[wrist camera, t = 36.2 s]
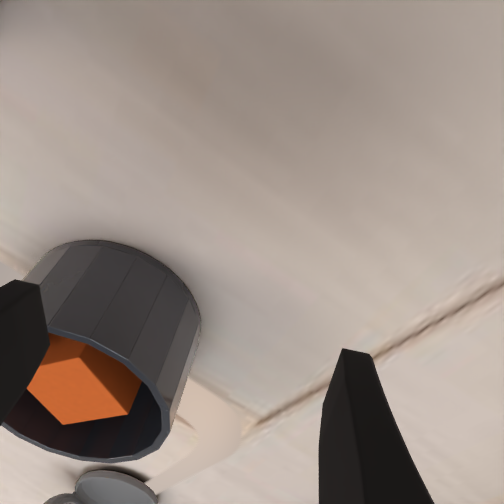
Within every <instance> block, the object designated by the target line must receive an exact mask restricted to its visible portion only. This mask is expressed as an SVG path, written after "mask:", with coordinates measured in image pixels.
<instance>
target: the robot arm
mask: <svg viewBox="0 0 504 504" xmlns="http://www.w3.org/2000/svg"><path fill="white" fill-rule="evenodd" d="M49 346H50V340H49V335H48V329H47V324H46V319H45V313H44V308H43V303H42V297H41V292H40V286H39V284H34V283H29V282H25V281H20V280H13V281H11V282H9V283H7V284H5V285H4V286H2V287H0V426H1V424H2V423H3V422H4V420H5V419H6V417H7V416H8V414H9V413H10V412H11V410H12V409H13V407H14V406H15V404H16V403H17V402H18V400H19V399H20V397H21V396H22V394H23V393H24V391H25V390H26V388H27V387H28V385H29V384H30V382H31V381H32V379H33V377H34V375H35V373H36V371H37V370H38V368H39V366H40V364H41V362H42V360H43V358H44V356H45V354H46V352H47V350H48V348H49ZM319 504H434V502H433V500H432V498H431V496H430V494H429V492H428V490H427V488H426V486H425V484H424V482H423V480H422V478H421V476H420V474H419V472H418V470H417V468H416V466H415V464H414V462H413V460H412V458H411V456H410V454H409V451H408V449H407V447H406V445H405V442H404V440H403V438H402V435H401V433H400V431H399V429H398V426H397V424H396V422H395V419H394V417H393V414H392V412H391V409H390V407H389V404H388V402H387V399H386V397H385V394H384V391H383V388H382V386H381V383H380V380H379V377H378V374H377V371H376V368H375V365H374V362H373V359H372V357H371V356H370V354H367V353H363V352H358V351H353V350H348V349H343V348H342V350H341V353H340V356H339V359H338V362H337V365H336V368H335V371H334V374H333V376H332V379H331V382H330V385H329V388H328V391H327V394H326V397H325V400H324V402H323V408H322V418H321V427H320V438H319Z"/></svg>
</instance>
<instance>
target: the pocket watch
mask: <svg viewBox="0 0 504 504" xmlns="http://www.w3.org/2000/svg"><path fill="white" fill-rule="evenodd" d="M44 504H158V500H157V497H156V495H155V493H154V492H153V491H152V490H151V489H150V488H149V487H148V486H147V485H145V484H144V483H143V482H141V481H139V480H138V479H136V478H134V477H131V476H129V475H126V474H123V473H119V472H115V471H107V470H97V471H89V472H87V473H86V474H84V475H82V476H81V477H80V478H79V480H78V482H77V483H76V486H75V492H73V494H59V495H57V496H54V497H52V498H50V499H49V500H47V501H46V502H45V503H44Z"/></svg>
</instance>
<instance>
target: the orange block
mask: <svg viewBox="0 0 504 504" xmlns="http://www.w3.org/2000/svg"><path fill="white" fill-rule="evenodd" d="M48 335H49V340H50V346H49V348H48V350H47V352H46V354H45V356H44V358H43V360H42V362H41V364H40V366H39V368H38V370H37V371H36V373H35V375H34V377H33V379H32V381H31V382H30V384H29V385H28V387H27V389H28V390H29V391H30V392H31V393H32V394H33V395H34V396H35V397H36V398H37V399H38V400H39V401H40V402H41V403H42V404H43V405H44V406H45V407H46V408H47V409H48V410H49V411H50V412H51V413H52V414H53V415H54V416H55V417H56V418H57V419H58V420H59V421H60V422H61V423H62V424H63V425H66V424H72V423H78V422H84V421H90V420H96V419H102V418H109V417H115V416H121V415H127V414H129V411H130V409H131V407H132V404H133V402H134V399H135V397H136V394H137V392H138V390H139V387H140V385H141V382H142V381H141V380H140V379H139V378H138V377H137V376H136V375H135V374H134V373H133V372H132V371H130V370H129V369H128V368H127V367H126V366H125V365H124V364H123V363H121V362H119V361H118V360H116V359H114V358H112V357H110V356H108V355H107V354H105V353H103V352H101V351H99V350H98V349H96V348H94V347H92V346H90V345H88V344H86V343H82V342H79V341H75V340H72V339H69V338H65V337H62V336H58V335H55V334H52V333H48Z"/></svg>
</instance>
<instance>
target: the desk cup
mask: <svg viewBox="0 0 504 504" xmlns="http://www.w3.org/2000/svg"><path fill="white" fill-rule="evenodd" d="M22 281H25V282H29V283H34V284H39V286H40V292H41V297H42V303H43V308H44V313H45V319H46V324H47V329H48V333H52V334H55V335H58V336H62V337H65V338H69V339H72V340H75V341H79V342H82V343H86V344H88V345H90V346H92V347H94V348H96V349H98V350H99V351H101V352H103V353H105V354H107V355H108V356H110V357H112V358H114V359H116V360H118V361H119V362H121V363H123V364H124V365H125V366H126V367H127V368H128V369H129V370H130V371H132V372H133V373H134V374H135V375H136V376H137V377H138V378H139V379H140V380H141V381H142V382H141V385H140V387H139V390H138V392H137V394H136V397H135V399H134V402H133V404H132V407H131V409H130V411H129V414H127V415H121V416H115V417H109V418H102V419H96V420H90V421H84V422H78V423H72V424H66V425H63V424H62V423H61V422H60V421H59V420H58V419H57V418H56V417H55V416H54V415H53V414H52V413H51V412H50V411H49V410H48V409H47V408H46V407H45V406H44V405H43V404H42V403H41V402H40V401H39V400H38V399H37V398H36V397H35V396H34V395H33V394H32V393H31V392H30V391H29V390H28V389H27V388H26V390H25V391H24V393H23V394H22V396H21V397H20V399H19V400H18V402H17V403H16V404H15V406H14V407H13V409H12V410H11V412H10V413H9V414H8V416H7V417H6V419H5V420H4V422H3V423H2V424H1V426H3V427H4V428H6V429H7V430H8V431H10V432H11V433H13V434H14V435H15V436H17V437H19V438H21V439H23V440H25V441H27V442H29V443H32V444H34V445H36V446H38V447H40V448H42V449H44V450H46V451H49V452H52V453H56V454H59V455H63V456H66V457H70V458H73V459H77V460H81V461H91V462H102V463H117V462H125V461H132V460H138V459H140V458H142V457H144V456H146V455H148V454H150V453H152V452H154V451H156V450H158V449H159V448H160V447H161V445H162V444H163V442H164V441H165V439H166V438H167V436H168V435H169V433H170V431H171V428H172V425H173V422H174V419H175V415H176V412H177V409H178V406H179V403H180V400H181V396H182V394H183V390H184V387H185V384H186V381H187V378H188V375H189V372H190V369H191V366H192V363H193V359H194V356H195V353H196V350H197V347H198V344H199V336H200V331H201V320H200V314H199V310H198V307H197V304H196V302H195V300H194V298H193V296H192V294H191V293H190V292H189V290H188V289H187V287H186V286H185V285H184V283H183V282H182V281H181V280H180V279H179V278H178V277H177V276H176V275H175V274H174V273H173V272H172V271H171V270H170V269H168V268H167V267H166V266H164V265H163V264H162V263H160V262H159V261H157V260H155V259H154V258H152V257H150V256H149V255H147V254H145V253H142V252H140V251H138V250H136V249H133V248H130V247H128V246H125V245H121V244H117V243H113V242H107V241H100V240H83V241H75V242H70V243H66V244H64V245H61V246H58V247H56V248H54V249H53V250H51V251H49V252H48V253H47V254H46V255H44V256H43V257H42V258H41V259H40V261H39V262H38V263H37V264H36V265H35V266H34V267H33V268H32V269H31V270H30V271H29V273H28V274H27V275H26V276H25V277H24V278H23V280H22Z"/></svg>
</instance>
